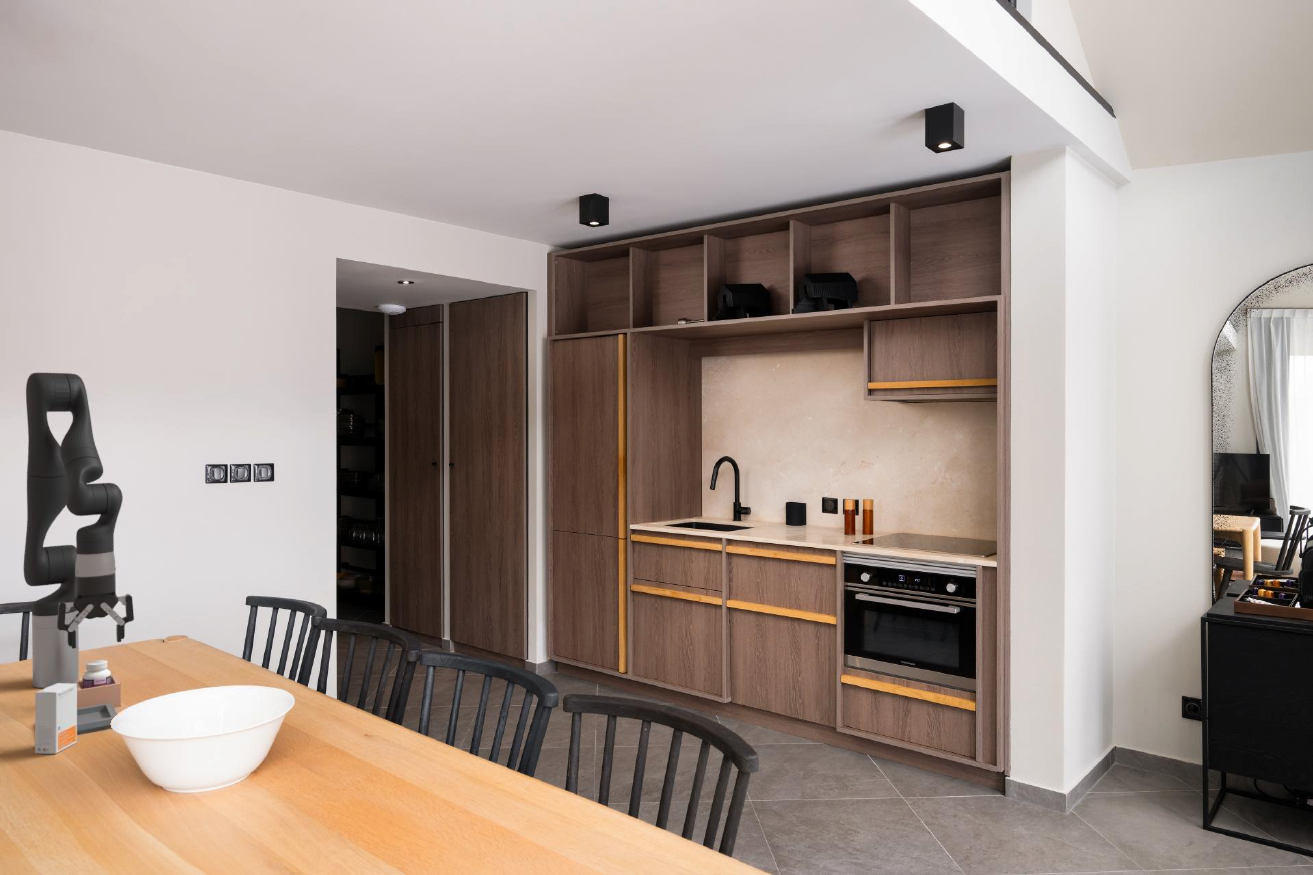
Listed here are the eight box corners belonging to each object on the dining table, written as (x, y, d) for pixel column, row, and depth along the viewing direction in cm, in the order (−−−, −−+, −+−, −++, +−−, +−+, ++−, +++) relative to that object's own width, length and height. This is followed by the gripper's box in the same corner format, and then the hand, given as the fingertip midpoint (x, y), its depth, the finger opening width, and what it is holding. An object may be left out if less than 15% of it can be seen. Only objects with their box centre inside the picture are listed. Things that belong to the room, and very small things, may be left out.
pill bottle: (97, 709, 189) (96, 666, 189) (76, 707, 190) (76, 664, 190) (117, 701, 194) (116, 659, 194) (97, 700, 195) (96, 658, 195)
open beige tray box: (73, 703, 193) (73, 681, 193) (115, 696, 198) (115, 675, 198) (77, 713, 187) (76, 690, 186) (120, 705, 192) (120, 683, 191)
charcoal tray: (44, 723, 180) (44, 713, 180) (111, 711, 188) (111, 702, 188) (48, 740, 171) (48, 730, 171) (118, 726, 179) (118, 717, 179)
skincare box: (56, 754, 164) (55, 692, 164) (34, 754, 164) (33, 692, 164) (78, 742, 170) (77, 682, 170) (57, 742, 170) (56, 682, 170)
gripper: (130, 567, 199) (131, 636, 199) (55, 573, 190) (56, 646, 190) (134, 571, 193) (135, 642, 193) (58, 578, 184) (59, 653, 184)
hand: (96, 644), depth 192 cm, fingers open, 8 cm apart
